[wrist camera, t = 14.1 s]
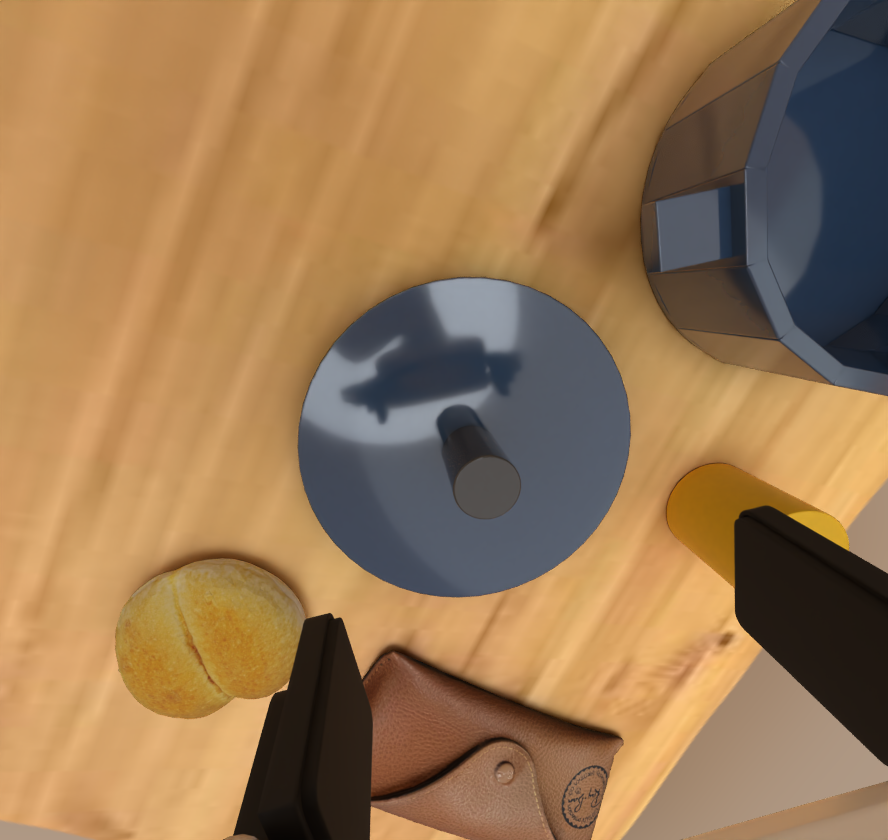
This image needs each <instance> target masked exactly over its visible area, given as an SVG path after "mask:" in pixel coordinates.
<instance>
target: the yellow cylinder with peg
mask: <svg viewBox="0 0 888 840" xmlns="http://www.w3.org/2000/svg"><path fill="white" fill-rule="evenodd" d="M764 505H769V506H771V507H774V508H775V509H777V510H779V511H781V512H782V513H784V514H786V515H787V516H789V517H791V518H793V519H794V520H796V521H798V522H800V523H801V524H803V525H805V526H806V527H808V528H810V529H812V530H813V531H815V532H817V533H819V534H820V535H822V536H824V537H825V538H827V539H829V540H831V541H832V542H834V543H836V544H838V545H839V546H841V547H843V548H844V549H846V550H848V551H849V541H848V536H847V534H846V531H845V529H844V528H843V526H842V525H841V524H840V522H839V521H838V520H836V519H835V518H834V517H832V516H831V515H829V514H827V513H825V512H823V511H821V510H819V509H817V508H815V507H813V506H811V505H809V504H807V503H805V502H803V501H802V500H800V499H798V498H796V497H794V496H792V495H790V494H788V493H786V492H784V491H782V490H780V489H778V488H776V487H774V486H772V485H770V484H768V483H766V482H764V481H762V480H760V479H758V478H756V477H754V476H752V475H750V474H748V473H746V472H744V471H742V470H740V469H738V468H736V467H734V466H732V465H728V464H722V463H715V464H708V465H705V466H701V467H699V468H697V469H695V470H693V471H691V472H690V473H689V474H687V475H686V476H685V477H684V478H683V479H681V481H680V482H679V483H678V484H677V485H676V487H675V488H674V490H673V491H672V493H671V495H670V498H669V501H668V504H667V522H668V525H669V528H670V530H671V532H672V533H673V534H674V536H675V537H676V538H677V539H678V540H679V541H681V542H682V543H683V544H684V545H685V546H686V547H688V548H689V549H690V550H691V551H692V552H693V553H695V554H696V555H697V556H698V557H699V558H700V559H701V560H703V561H704V562H705V563H706V564H707V565H708V566H710V567H711V568H712V569H713V570H714V571H715V572H717V573H718V574H719V575H720V576H721V577H722V578H723V579H725V580H726V581H727V582H728V583H729V584H730V585H732V586H733V587H734V588H735V564H734V522H735V520H737V519H739V515H740V513H741V512H742V511H744V510H748V509H752V508H756V507H760V506H764Z"/></svg>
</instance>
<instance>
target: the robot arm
mask: <svg viewBox="0 0 888 840" xmlns="http://www.w3.org/2000/svg"><path fill="white" fill-rule="evenodd" d="M734 564H735V614H736V617H737V620H738V622H739V623H740V625H741V626H742V628H743V629H744V630H745V631H746V632H747V633H748V634H749V635H750V636H751V637H753V638H754V639H755V640H756V641H757V642H758V643H759V644H760V645H761V646H762V647H763V648H764V649H765V650H766V651H767V652H768V653H769V654H770V655H771V656H772V657H773V658H774V659H775V660H776V661H777V662H778V663H779V664H780V665H782V666H783V667H784V668H785V669H786V670H787V671H788V672H789V673H790V674H791V675H792V676H793V677H794V678H795V679H796V680H797V681H798V682H799V683H800V684H801V685H802V686H803V687H804V688H805V689H806V690H807V691H808V692H809V693H810V694H811V695H813V696H814V697H815V698H816V699H817V700H818V701H819V702H820V703H821V704H822V705H823V706H824V707H825V708H826V709H827V710H828V711H829V712H830V713H831V714H832V715H833V716H834V717H835V718H836V719H838V721H839V722H840V723H842V724H843V725H844V726H845V727H846V728H847V729H848V730H849V731H850V732H851V733H852V734H853V735H854V736H855V737H856V738H857V739H858V740H859V741H860V742H861V743H862V744H863V745H865V747H866V748H867V749H868V750H869V751H870V752H872V753H873V754H874V755H875V756H876V757H877V758H878V759H879V760H880V761H881V762H882V763H883V764H885V765H887V766H888V574H887V573H886V572H884V571H882V570H881V569H879V568H877V567H875V566H874V565H872V564H870V563H869V562H867V561H865V560H863V559H862V558H860V557H858V556H857V555H855V554H853V553H851V552H850V551H848V550H846V549H844V548H843V547H841V546H839V545H838V544H836V543H834V542H832V541H831V540H829V539H827V538H825V537H824V536H822V535H820V534H819V533H817V532H815V531H813V530H812V529H810V528H808V527H806V526H805V525H803V524H801V523H800V522H798V521H796V520H794V519H793V518H791V517H789V516H787V515H786V514H784V513H782V512H781V511H779V510H777V509H775V508H774V507H771V506H769V505H764V506H760V507H756V508H752V509H748V510H744V511H742V512H741V513H740V515H739V519H737V520H735V522H734ZM372 743H373V718H372V711H371V707H370V703H369V700H368V697H367V694H366V691H365V688H364V685H363V682H362V679H361V675H360V672H359V669H358V666H357V663H356V660H355V657H354V654H353V651H352V647H351V644H350V641H349V638H348V635H347V632H346V629H345V626H344V623H343V620H342V618H336V619H334V617H333V615H332V614H331V613H328V614H324V615H320V616H316V617H312V618H308V619H305V620H304V623H303V627H302V631H301V635H300V639H299V643H298V648H297V652H296V656H295V660H294V664H293V668H292V672H291V676H290V681H289V685H288V689H287V690H285V691H281V692H277V693H275V694H274V695H273V697H272V699H271V702H270V704H269V708H268V712H267V715H266V719H265V722H264V726H263V730H262V733H261V737H260V740H259V744H258V748H257V751H256V755H255V759H254V762H253V766H252V769H251V773H250V777H249V780H248V784H247V787H246V791H245V795H244V798H243V802H242V806H241V809H240V813H239V816H238V820H237V824H236V827H235V831H234V834H233V836H229V837H227V838H225V839H223V840H370V811H371V777H372ZM682 840H888V781H886V782H883V783H879V784H876V785H872V786H869V787H865V788H861V789H858V790H855V791H851V792H847V793H844V794H840V795H836V796H833V797H830V798H826V799H822V800H819V801H815V802H812V803H808V804H804V805H801V806H797V807H794V808H791V809H787V810H783V811H780V812H776V813H773V814H769V815H766V816H762V817H759V818H756V819H752V820H748V821H745V822H741V823H738V824H735V825H731V826H727V827H724V828H721V829H717V830H713V831H710V832H707V833H703V834H700V835H696V836H693V837H689V838H686V839H682Z"/></svg>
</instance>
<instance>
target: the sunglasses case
mask: <svg viewBox="0 0 888 840" xmlns="http://www.w3.org/2000/svg"><path fill="white" fill-rule="evenodd" d="M362 682H363V685H364V688H365V691H366V694H367V697H368V700H369V703H370V707H371V711H372V718H373V743H372V777H371V806H372V807H375V808H377V809H381V810H383V811H385V812H388V813H391V814H394V815H397V816H399V817H403V818H406V819H408V820H411V821H414V822H416V823H420V824H423V825H425V826H429V827H432V828H434V829H437V830H440V831H444V832H447V833H450V834H454V835H457V836H460V837H463V838H466V839H470V840H591V838H592V834H593V830H594V827H595V823H596V819H597V816H598V813H599V810H600V806H601V802H602V799H603V795H604V792H605V789H606V785H607V781H608V778H609V774H610V770H611V767H612V763H613V759H614V755H615V754H616V753H617V752H618V750H619V749H620V747H621V746H622V745H623V739H622V738H620V737H618V736H614V735H610V734H606V733H602V732H598V731H594V730H590V729H586V728H582V727H579V726H576V725H573V724H570V723H567V722H565V721H562V720H560V719H557V718H554V717H552V716H549V715H546V714H543V713H541V712H538V711H535V710H533V709H531V708H528V707H525V706H523V705H520V704H518V703H515V702H513V701H510V700H508V699H505V698H503V697H500V696H498V695H496V694H493V693H491V692H489V691H487V690H484V689H482V688H480V687H477V686H475V685H472V684H470V683H468V682H466V681H463V680H461V679H459V678H456V677H454V676H452V675H449V674H447V673H444V672H442V671H440V670H438V669H436V668H434V667H432V666H429V665H427V664H425V663H423V662H420V661H418V660H416V659H413V658H411V657H408V656H406V655H404V654H401V653H398V652H396V651H391V652H388V653H386V654H384V655H382V656H381V657H380V658H379V659H378V660H377V661H376V663H375V664H374V665H373V667H372V668H371V669H370V670H369V672H368V673H367V674H366V676H365V677H364V678H363V680H362Z"/></svg>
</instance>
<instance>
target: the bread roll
mask: <svg viewBox="0 0 888 840" xmlns="http://www.w3.org/2000/svg"><path fill="white" fill-rule="evenodd" d="M305 619H306V617H305V613H304V610H303V607H302V605H301V603H300V601H299V600H298V598H297V597H296V595H295V594H294V593H293V591H292V590H291V589H290V588H289V587H288V586H287V585H286V584H285V583H284V582H283V581H281V580H280V579H279V578H278V577H276V576H274V575H273V574H271V573H269V572H268V571H266V570H264V569H261V568H259V567H257V566H255V565H253V564H250V563H247V562H244V561H241V560H236V559H226V558H221V559H209V560H202V561H197V562H193V563H190V564H188V565H185V566H183V567H181V568H179V569H177V570H175V571H170V572H165V573H163V574H160V575H158V576H156V577H154V578H153V579H151V580H150V581H148V582H147V583H146V584H144V585H143V586H142V587H140V588H139V589H138V590H137V591H136V592H135V593H134V594H133V595H132V596H131V597H130V598H129V600H128V601H127V603H126V604H125V605H124V607H123V609H122V611H121V614H120V617H119V620H118V624H117V627H116V635H115V639H116V645H115V651H116V656H117V661H118V666H119V669H118V671H119V672H120V673H121V676H122V678H123V681H124V683H125V685H126V687H127V688H128V690H129V691H130V692H131V694H132V695H133V696H134V698H135V699H136V700H137V701H138V702H139V703H140V704H142V705H143V706H144V707H146V708H147V709H150V710H151V711H153V712H155V713H157V714H160V715H164V716H168V717H173V718H184V719H195V718H201V717H205V716H208V715H210V714H212V713H214V712H215V711H217V710H219V709H220V708H222V707H223V706H225V705H226V704H227V703H229V702H230V701H231V700H232V699H233V698H234V697H238V698H244V699H258V698H262V697H267V696H269V695H271V694H273V693H275V692H276V691H278V690H279V689H281V688H282V687H283V686H284V685H285V684H286V683H287V682H288V681H289V679H290V676H291V672H292V668H293V664H294V660H295V656H296V652H297V648H298V643H299V639H300V635H301V631H302V627H303V623H304V620H305Z"/></svg>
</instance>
